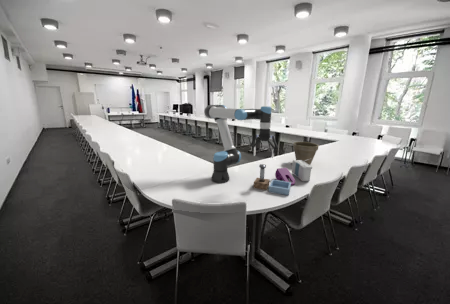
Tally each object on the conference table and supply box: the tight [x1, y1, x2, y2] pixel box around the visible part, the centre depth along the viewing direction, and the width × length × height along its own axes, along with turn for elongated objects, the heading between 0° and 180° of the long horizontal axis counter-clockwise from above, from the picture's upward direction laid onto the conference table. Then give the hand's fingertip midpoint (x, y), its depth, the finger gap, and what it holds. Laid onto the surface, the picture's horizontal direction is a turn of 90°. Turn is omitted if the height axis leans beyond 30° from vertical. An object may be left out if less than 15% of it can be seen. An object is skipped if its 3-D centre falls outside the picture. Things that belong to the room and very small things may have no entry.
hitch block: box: [253, 177, 270, 191], centre depth 153 cm, size 10×10×5 cm
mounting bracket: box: [274, 167, 296, 186], centre depth 165 cm, size 9×8×18 cm
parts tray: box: [268, 179, 292, 196], centre depth 148 cm, size 14×14×4 cm
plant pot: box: [292, 141, 320, 166], centre depth 212 cm, size 25×25×22 cm
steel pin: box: [259, 163, 267, 182], centre depth 152 cm, size 5×5×18 cm
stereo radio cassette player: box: [291, 159, 313, 182], centre depth 172 cm, size 21×8×20 cm, turn 5°
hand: (263, 156), depth 148 cm, fingers open, 13 cm apart
